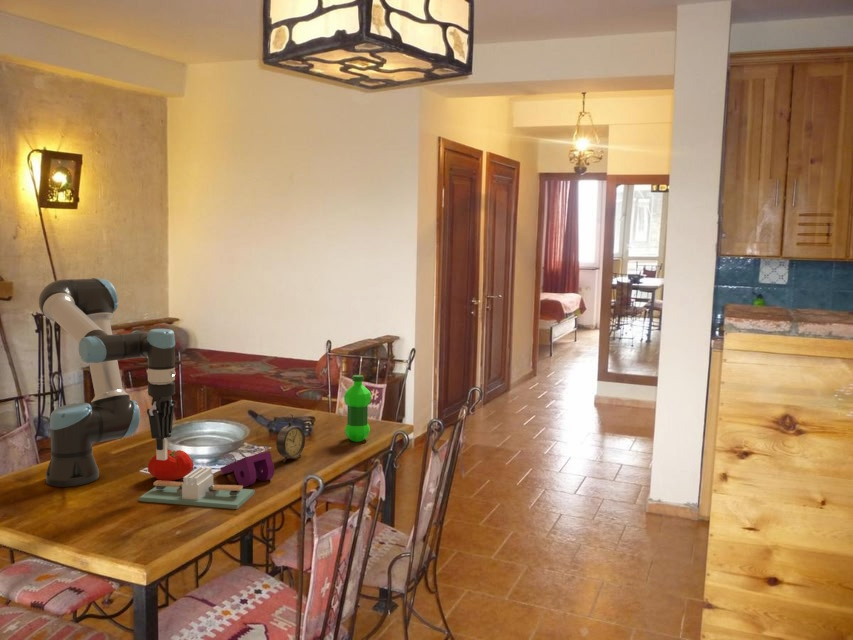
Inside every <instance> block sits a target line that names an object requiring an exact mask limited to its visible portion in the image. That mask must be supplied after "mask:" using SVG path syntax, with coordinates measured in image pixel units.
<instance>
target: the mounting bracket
mask: <svg viewBox="0 0 853 640" xmlns="http://www.w3.org/2000/svg"><path fill="white" fill-rule="evenodd" d="M220 472H221V475H223V476H224V475H226V474H229V473H234V476H235V480H236V482H237V483H238V485H243V488H244V487H249V486H251V485H254V484H255V483H256V480H258V479H259V481H262V482H266V481H268V480H271V479H272V478H273V477H274V475H275V465H274V462H273V459H272V454H271V451H270V450H269V451H265V452H260V453H256V454H253V455H249V456H245V457H243V458H240V459H238V460H235V461H233V462H231V463H228V464H226V465H225V466H222V467H220Z"/></svg>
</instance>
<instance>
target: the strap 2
mask: <svg viewBox="0 0 853 640" xmlns="http://www.w3.org/2000/svg"><path fill="white" fill-rule="evenodd" d="M208 489H209V490H210V491H212V490H231V491H240V490H241V489H244V486H243V485H240V484H238V485H237V484H216V483H213V485H211V486H210V487H209V488H208Z"/></svg>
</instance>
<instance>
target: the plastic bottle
mask: <svg viewBox="0 0 853 640" xmlns="http://www.w3.org/2000/svg"><path fill="white" fill-rule="evenodd" d="M352 382H353V384H352V385H351V386H350V387H349V388H348V389H347V390H346V391H345V393H344V397H343V399H344V403H345V405H346V406H347V418H346V419H347V423H346V425H345V429H344V434H345V436H346V437H347V438H348V439H349V440H350V441H351V442H355V443H357V442H359V443H360V442H363V441H365V440H366V439H367V438H368V437H369V435H370V432H371V427H370V424H369V423H368V416H369V415H368V413H369V412H368V410H369V409H368V408H369V405H370V404H371V401H372V393H371V391H370V390H369V389H368V388H367V387H366V386H365V385H363V382H364V375H362V374H354V375H352Z"/></svg>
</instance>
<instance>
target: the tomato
mask: <svg viewBox="0 0 853 640" xmlns="http://www.w3.org/2000/svg"><path fill="white" fill-rule="evenodd" d="M194 465H195V464H194V462H193V459H192V458H191V456H190V455H189V454H188V453H187V452H186V451H184V450H180V449H179V450H173V451H172V450H170V449H167V459H166V460H156V454H155V455H154V456H152V458H151V459H150V460H149V461H148V465H147V470H148V472H149V474H150V475H151V476H153V477H154V478H156V479H157V480H162V481H177V480H181V479H183V477H185V476H186V475H188V474H189V473H191V472H192V471H194V470H193V469H194Z"/></svg>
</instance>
